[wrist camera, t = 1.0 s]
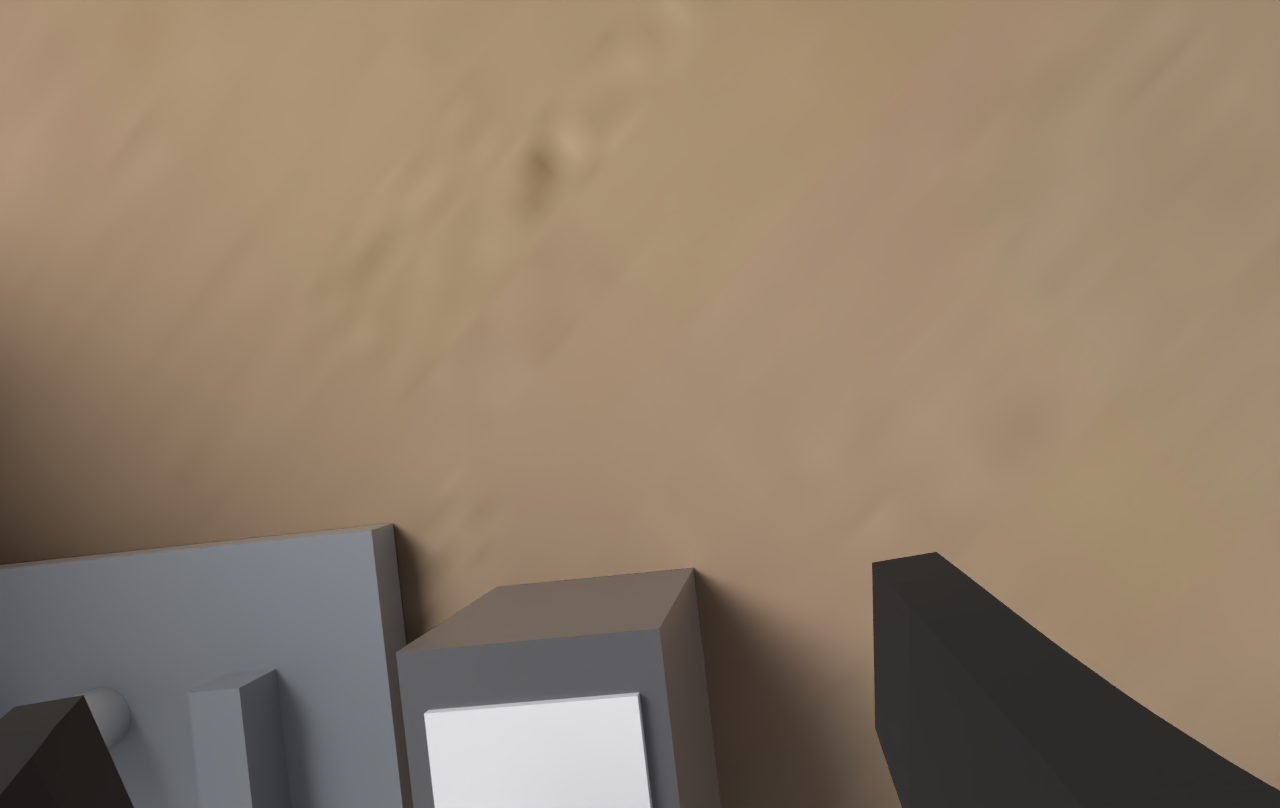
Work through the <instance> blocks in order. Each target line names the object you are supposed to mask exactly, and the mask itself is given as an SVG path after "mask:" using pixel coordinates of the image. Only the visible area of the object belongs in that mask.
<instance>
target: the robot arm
mask: <svg viewBox="0 0 1280 808" xmlns="http://www.w3.org/2000/svg"><path fill="white" fill-rule="evenodd" d="M872 575H873V628H874V681H875V728H876V731H877V734H878V737H879V740H880V743H881V746H882V749H883V752H884V755H885V758H886V761H887V764H888V768H889V771H890V774H891V777H892V780H893V783H894V785H895V788H896V791H897V794H898V797H899V800H900V802H901V805H902V808H1280V791H1279V790H1278V789H1276V788H1274V787H1272V786H1270V785H1268V784H1267V783H1265V782H1263V781H1262V780H1260V779H1258V778H1256V777H1255V776H1253V775H1251V774H1250V773H1248V772H1246V771H1245V770H1243V769H1241V768H1240V767H1238V766H1236V765H1235V764H1233V763H1231V762H1230V761H1228V760H1226V759H1225V758H1223V757H1221V756H1220V755H1218V754H1217V753H1215V752H1214V751H1212V750H1210V749H1209V748H1207V747H1206V746H1204V745H1203V744H1201V743H1199V742H1198V741H1196V740H1195V739H1193V738H1192V737H1190V736H1188V735H1187V734H1185V733H1184V732H1182V731H1181V730H1179V729H1178V728H1176V727H1174V726H1173V725H1171V724H1170V723H1168V722H1167V721H1165V720H1163V719H1162V718H1160V717H1159V716H1157V715H1156V714H1154V713H1153V712H1151V711H1150V710H1148V709H1147V708H1145V707H1144V706H1142V705H1141V704H1139V703H1138V702H1136V701H1135V700H1134V699H1132V698H1131V697H1129V696H1128V695H1126V694H1125V693H1123V692H1122V691H1120V690H1119V689H1118V688H1116V687H1115V686H1113V685H1112V684H1111V683H1109V682H1108V681H1106V680H1105V679H1104V678H1102V677H1101V676H1099V675H1098V674H1097V673H1095V672H1094V671H1092V670H1091V669H1090V668H1088V667H1087V666H1085V665H1084V664H1083V663H1081V662H1080V661H1078V660H1077V659H1076V658H1074V657H1073V656H1071V655H1070V654H1069V653H1067V652H1066V651H1065V650H1063V649H1062V648H1061V647H1059V646H1058V645H1057V644H1055V643H1054V642H1053V641H1051V640H1050V639H1049V638H1047V637H1046V636H1045V635H1043V634H1042V633H1041V632H1039V631H1038V630H1037V629H1036V628H1034V627H1033V626H1032V625H1030V624H1029V623H1028V622H1026V621H1025V620H1024V619H1022V618H1021V617H1020V616H1019V615H1017V614H1016V613H1015V612H1013V611H1012V610H1011V609H1009V608H1008V607H1007V606H1006V605H1004V604H1003V603H1002V602H1000V601H999V600H998V599H997V598H995V597H994V596H993V595H991V594H990V593H989V592H988V591H986V590H985V589H984V588H982V587H981V586H980V585H979V584H977V583H976V582H975V581H973V580H972V579H971V578H970V577H968V576H967V575H966V574H964V573H963V572H962V571H960V570H959V569H958V568H957V567H955V566H954V565H953V564H951V563H950V562H949V561H947V560H946V559H945V558H944V557H942V556H941V555H940V554H938V553H937V552H933V553H928V554H922V555H916V556H910V557H904V558H898V559H892V560H886V561H880V562H874V563H872ZM0 808H134V807H133V804H132V802H131V800H130V798H129V795H128V793H127V791H126V789H125V786H124V784H123V782H122V780H121V777H120V775H119V773H118V771H117V768H116V766H115V764H114V762H113V760H112V757H111V755H110V753H109V751H108V748H107V746H106V744H105V742H104V739H103V737H102V735H101V733H100V730H99V728H98V726H97V724H96V721H95V719H94V717H93V715H92V712H91V710H90V708H89V706H88V704H87V701H86V699H85V697H84V695H81V696H75V697H69V698H63V699H57V700H51V701H45V702H39V703H33V704H27V705H21V706H16V707H13V708H12V709H11V710H10V711H9V712H8V713H7V714H5V715H4V716H3V717H2V718H1V719H0Z"/></svg>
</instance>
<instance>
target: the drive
mask: <svg viewBox="0 0 1280 808" xmlns="http://www.w3.org/2000/svg"><path fill="white" fill-rule="evenodd" d="M396 658H397V667H398V676H399V685H400V694H401V702H402V711H403V720H404V729H405V738H406V746H407V755H408V764H409V773H410V782H411V791H412V799H413V808H721V800H720V791H719V783H718V774H717V765H716V757H715V748H714V740H713V731H712V722H711V714H710V705H709V696H708V688H707V679H706V671H705V662H704V653H703V645H702V636H701V627H700V619H699V610H698V602H697V593H696V584H695V576H694V568H686V569H676V570H666V571H655V572H645V573H635V574H624V575H614V576H604V577H593V578H583V579H573V580H563V581H552V582H542V583H532V584H521V585H511V586H501V587H496V588H494V589H493V590H491V591H490V592H488V593H487V594H485V595H484V596H482V597H481V598H479V599H477V600H476V601H474V602H473V603H471V604H470V605H468V606H467V607H465V608H464V609H462V610H460V611H459V612H457V613H456V614H454V615H453V616H451V617H450V618H448V619H447V620H445V621H443V622H442V623H440V624H439V625H437V626H436V627H434V628H433V629H431V630H430V631H428V632H426V633H425V634H423V635H422V636H420V637H419V638H417V639H416V640H414V641H413V642H411V643H409V644H408V645H406V646H405V647H403V648H402V649H400V650H399V651H397V652H396Z"/></svg>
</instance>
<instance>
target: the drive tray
mask: <svg viewBox="0 0 1280 808" xmlns="http://www.w3.org/2000/svg"><path fill="white" fill-rule="evenodd" d="M406 645H407V644H406V635H405V626H404V617H403V609H402V600H401V591H400V582H399V573H398V565H397V556H396V547H395V538H394V529H393V523H390V524H381V525H371V526H362V527H353V528H343V529H334V530H324V531H315V532H305V533H296V534H287V535H277V536H268V537H258V538H249V539H240V540H230V541H221V542H211V543H202V544H192V545H183V546H174V547H164V548H155V549H145V550H136V551H126V552H117V553H108V554H98V555H89V556H79V557H70V558H61V559H51V560H42V561H32V562H23V563H13V564H4V565H0V719H1V718H2V717H3V716H4V715H5V714H7V713H8V712H9V711H10V710H11V709H12V708H13V707H16V706H21V705H27V704H33V703H39V702H45V701H51V700H57V699H63V698H69V697H75V696H81V695H84V697H85V699H86V701H87V704H88V706H89V708H90V710H91V712H92V715H93V717H94V719H95V721H96V724H97V726H98V728H99V730H100V733H101V735H102V737H103V739H104V742H105V744H106V746H107V748H108V751H109V753H110V755H111V757H112V760H113V762H114V764H115V766H116V768H117V771H118V773H119V775H120V777H121V780H122V782H123V784H124V786H125V789H126V791H127V793H128V795H129V798H130V800H131V802H132V804H133V807H134V808H413V799H412V791H411V782H410V773H409V764H408V755H407V746H406V738H405V729H404V720H403V711H402V702H401V694H400V685H399V676H398V667H397V658H396V652H397V651H399V650H400V649H402V648H403V647H405V646H406Z"/></svg>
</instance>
